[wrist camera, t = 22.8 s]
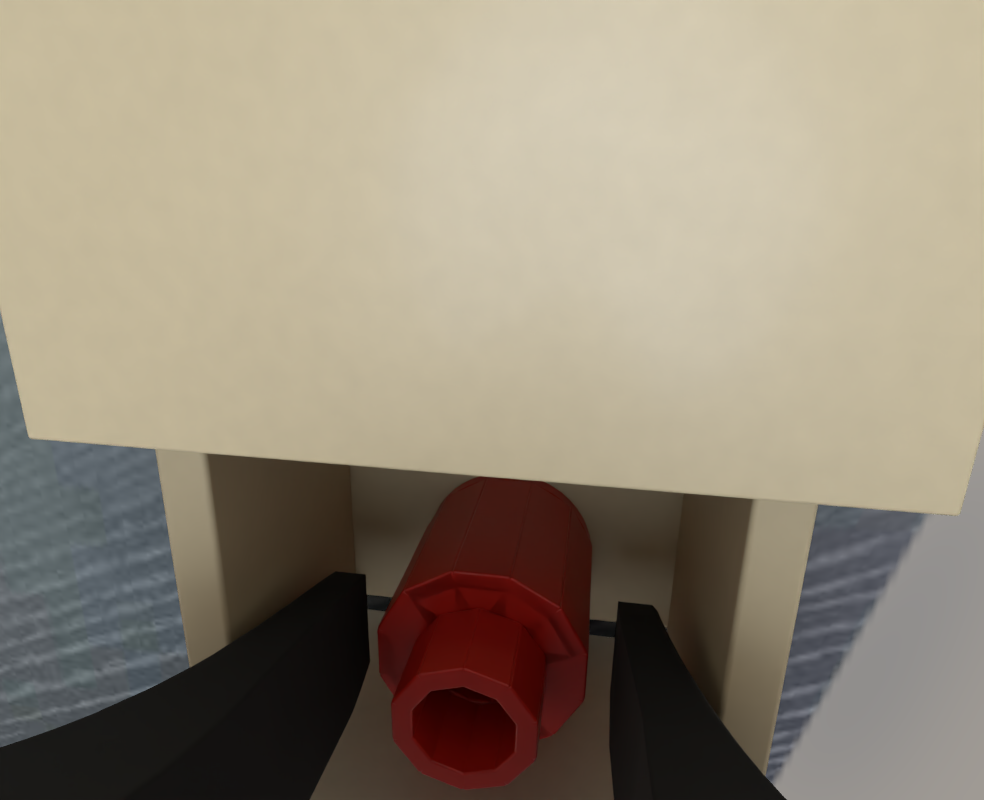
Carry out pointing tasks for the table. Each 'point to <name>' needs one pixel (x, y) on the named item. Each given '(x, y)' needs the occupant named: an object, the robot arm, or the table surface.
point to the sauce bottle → (489, 632)
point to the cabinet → (506, 237)
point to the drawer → (391, 545)
